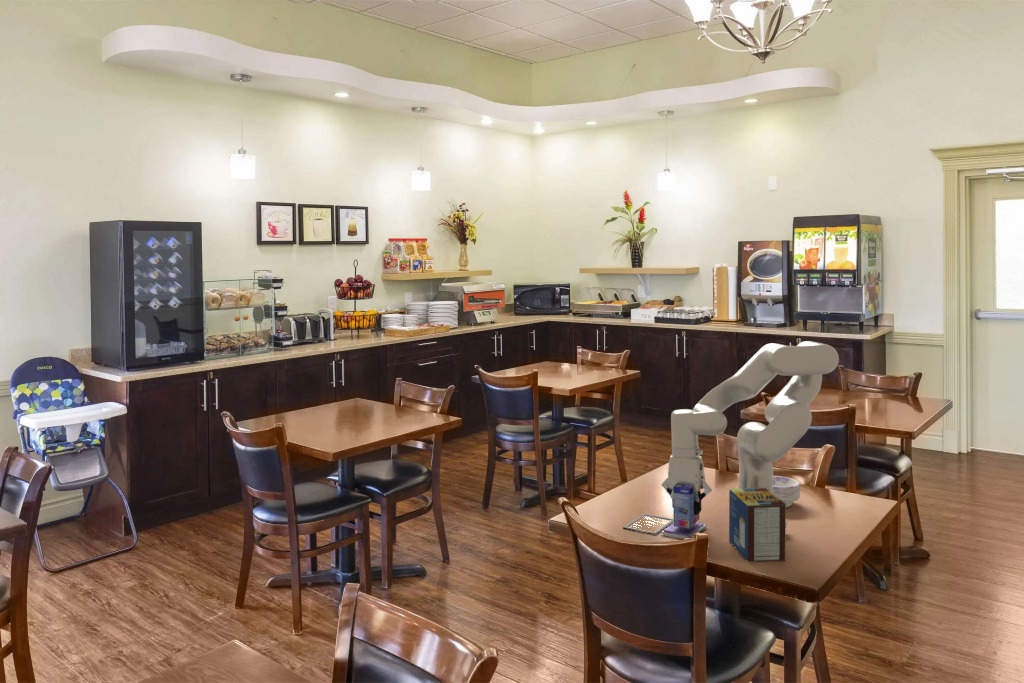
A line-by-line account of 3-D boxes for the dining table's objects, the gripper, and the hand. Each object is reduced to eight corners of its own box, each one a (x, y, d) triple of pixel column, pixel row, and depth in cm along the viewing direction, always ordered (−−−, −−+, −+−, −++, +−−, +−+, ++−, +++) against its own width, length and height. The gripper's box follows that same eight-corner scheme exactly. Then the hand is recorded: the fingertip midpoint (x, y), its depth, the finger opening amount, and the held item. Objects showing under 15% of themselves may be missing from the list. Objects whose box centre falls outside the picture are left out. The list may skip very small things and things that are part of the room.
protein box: (764, 540, 218) (765, 487, 216) (785, 561, 202) (786, 503, 201) (728, 541, 217) (728, 488, 216) (746, 562, 202) (747, 505, 200)
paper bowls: (792, 497, 257) (792, 474, 256) (805, 511, 242) (805, 487, 241) (746, 497, 258) (746, 473, 258) (755, 511, 243) (756, 486, 242)
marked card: (675, 521, 235) (675, 519, 235) (655, 535, 223) (655, 533, 223) (644, 515, 241) (644, 513, 241) (622, 528, 229) (622, 526, 229)
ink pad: (706, 527, 229) (706, 523, 228) (689, 540, 218) (689, 535, 218) (678, 522, 234) (678, 518, 233) (661, 535, 223) (661, 530, 223)
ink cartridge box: (691, 529, 220) (690, 480, 219) (673, 527, 223) (671, 478, 222) (701, 518, 229) (699, 471, 227) (683, 516, 231) (681, 469, 230)
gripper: (718, 452, 222) (719, 512, 224) (663, 446, 232) (665, 504, 234) (708, 458, 216) (710, 520, 217) (652, 452, 226) (654, 511, 227)
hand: (686, 511), depth 225 cm, fingers closed on ink cartridge box, 5 cm apart
